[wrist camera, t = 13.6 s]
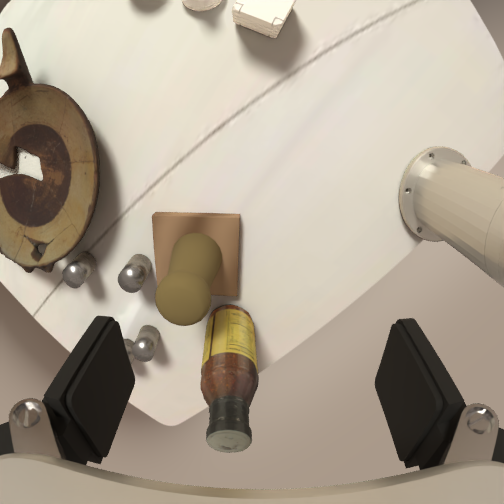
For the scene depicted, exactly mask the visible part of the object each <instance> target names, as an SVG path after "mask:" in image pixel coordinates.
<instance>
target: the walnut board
mask: <svg viewBox="0 0 504 504" xmlns="http://www.w3.org/2000/svg"><path fill="white" fill-rule="evenodd" d="M239 222H240V214H219V213H177V212H155V213H154V214H153V215H152V224H153V240H154V253H155V265H156V276H157V286H158V284H159V283H160V282H161V280H162V279H163V278H164V277H165V276H167V274H168V269H169V264H170V259H171V254H172V250H173V247H174V244H175V243H176V242H177V240H178V239H179V238H181V237H183V236H184V235H187V234H190V233H201V234H204V235H207V236H209V237H210V238H212V239H213V240H214V241H216V243H217V244H218V246H219V247H220V249H221V253H222V263H221V266H220V268H219V270H218V273H217V275H216V277H215V279H214V281H213V283H212V285H211V287H210V289H209V290H210V293H211V295H223V296H237V286H238V252H239Z"/></svg>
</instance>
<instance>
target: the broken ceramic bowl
mask: <svg viewBox="0 0 504 504" xmlns="http://www.w3.org/2000/svg"><path fill="white" fill-rule="evenodd" d="M2 45H3V58H2V63H1V66H0V79H3V80H5V81H6V82H7V84H8V87H9V89H8V90H7V91H6V92H5V94H4V95H3V96H2V97H1V98H0V163H1V164H4V165H5V166H7V167H9V168H12V169H15V166H16V159H17V153H18V152H17V150H16V147H20V148H23V149H25V150H27V151H28V152H29V153H30V154H31V153H32V154H35V155H37V156H38V157H39V158H40V165H41V170H42V174H43V180H42V181H40V180H37V179H35V178H33V177H30V176H28V175H24V174H13V175H9V176H6V177H3V178H0V253H1V254H4V255H5V257H6V258H8V259H10V260H12V261H13V262H14V263H17V264H18V265H20V266H21V267H22V268H23V269H24V270H25V271H26V272H28V273H31V272H32V271H33V270H34V268H40V269H42V270H43V271H45V272H48V273H49V272H51V271H52V270H53V267H54V264H55V262H57V261H59V260H61V259H63V258H64V257H66V256H67V255H68V254H69V253H70V252H71V251H72V250H74V248H75V247H76V246H77V245H78V244H79V242H80V241H81V239H82V238H83V236H84V235H85V233H86V231H87V229H88V227H89V225H90V223H91V220H92V217H93V214H94V211H95V207H96V203H97V198H98V193H99V179H100V178H99V177H100V176H99V174H100V172H99V154H98V147H97V142H96V139H95V135H94V132H93V129H92V126H91V124H90V122H89V120H88V119H87V117H86V115H85V113H84V112H83V110H82V109H81V108H80V106H79V105H78V104H77V103H76V102H75V101H74V100H73V99H72V98H71V97H70V96H69V95H68V94H67V93H65V92H64V91H62V90H60V89H59V88H56V87H54V86H51V85H46V84H34V83H33V81H32V78H31V75H30V73H29V70H28V67H27V65H26V62H25V59H24V56H23V54H22V51H21V49H20V45H19V43H18V40H17V37H16V35H15V33H14V31H13V30H12V29H11V28H6V29H4V31H3V34H2ZM25 158H26V157H25ZM40 244H45V245H46V249H45V252H44V255H42V253H39V251H38V246H39V245H40Z"/></svg>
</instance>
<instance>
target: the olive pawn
mask: <svg viewBox="0 0 504 504" xmlns="http://www.w3.org/2000/svg"><path fill="white" fill-rule="evenodd" d="M221 263H222V253H221V249H220V247H219V246H218V244H217V243H216V241H214V240H213V239H212V238H210V237H209V236H207V235H204V234H201V233H190V234H187V235H184V236H183V237H181V238H179V239H178V240H177V242H176V243H175V244H174V247H173V250H172V254H171V259H170V264H169V269H168V274H167V276H165V277H164V278H163V279H162V280H161V282H160V283H159V284H158V286H157V290H156V293H155V301H156V306H157V308H158V310H159V312H160V314H161V315H162V316H163V317H164V318H165V319H166V320H168V321H169V322H171V323H173V324H176V325H181V326H188V325H193V324H195V323H197V322H199V321H201V320H202V319H203V318H204V317H205V316H206V314H207V313H208V311H209V308H210V306H211V293H210V290H209V289H210V287H211V285H212V283H213V281H214V279H215V277H216V275H217V273H218V270H219V268H220V266H221Z"/></svg>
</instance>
